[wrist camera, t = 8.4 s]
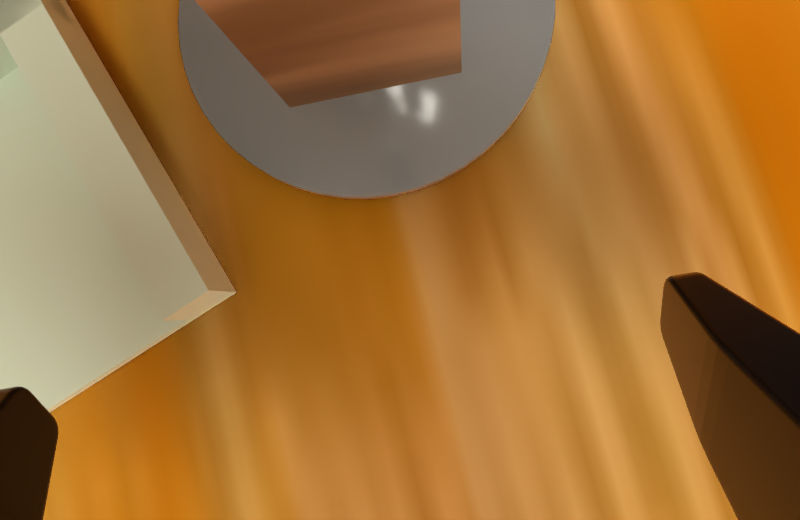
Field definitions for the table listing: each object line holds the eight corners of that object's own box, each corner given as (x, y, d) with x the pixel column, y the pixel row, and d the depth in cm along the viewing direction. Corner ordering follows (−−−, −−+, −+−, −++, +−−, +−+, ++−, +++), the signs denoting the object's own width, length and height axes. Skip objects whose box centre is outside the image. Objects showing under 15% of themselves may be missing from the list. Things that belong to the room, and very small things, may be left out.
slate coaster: (619, -73, 18) (625, -86, 17) (442, 265, 18) (441, 264, 17) (292, -211, 19) (287, -228, 19) (125, 100, 19) (113, 93, 18)
